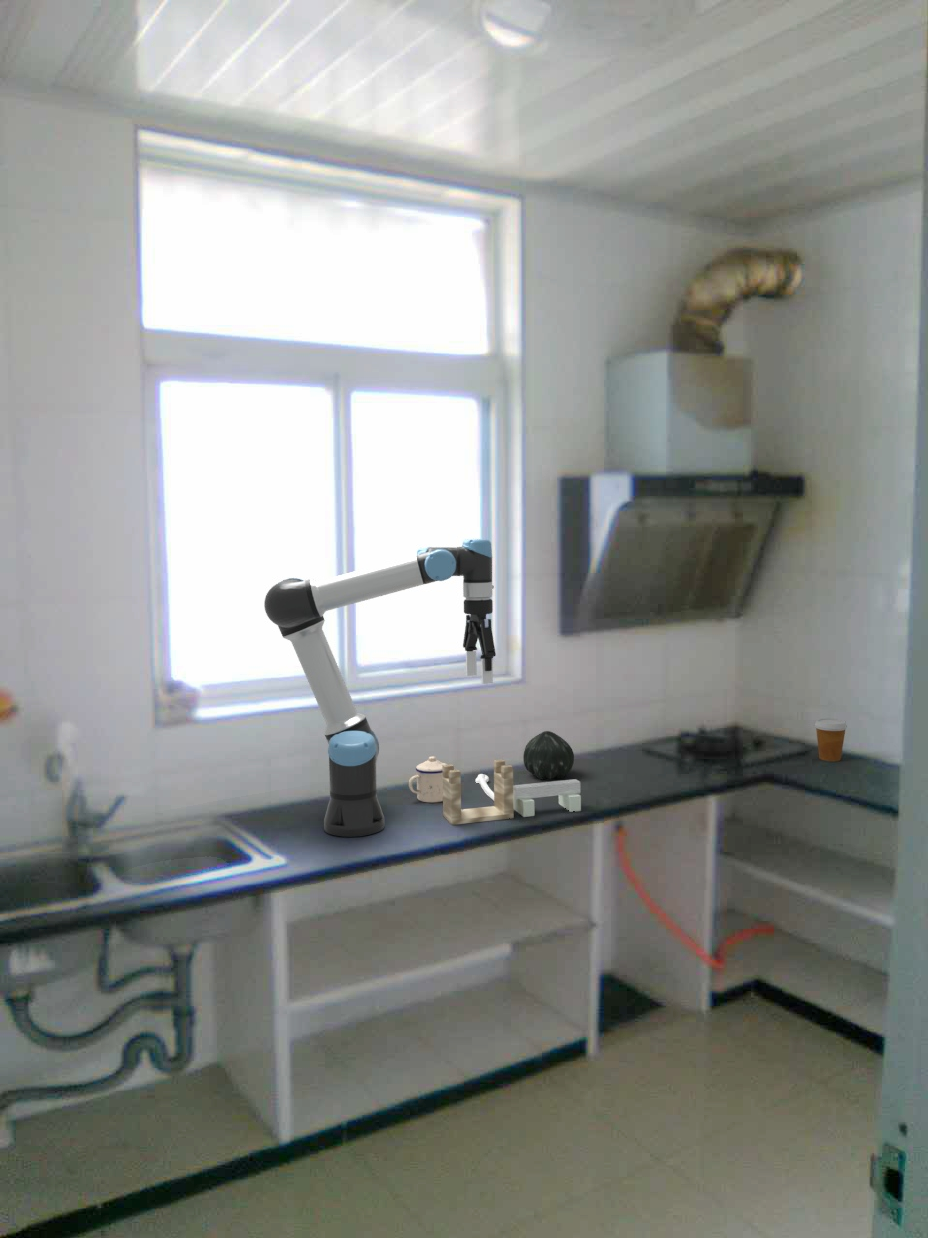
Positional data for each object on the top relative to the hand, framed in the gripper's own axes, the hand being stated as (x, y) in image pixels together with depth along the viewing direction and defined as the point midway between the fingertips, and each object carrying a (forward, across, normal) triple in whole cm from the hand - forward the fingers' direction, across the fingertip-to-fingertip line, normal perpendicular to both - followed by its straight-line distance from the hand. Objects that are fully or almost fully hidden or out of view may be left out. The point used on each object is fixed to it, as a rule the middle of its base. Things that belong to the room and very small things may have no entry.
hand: (479, 679), depth 260 cm
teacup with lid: (+35, +13, +11) cm, 39 cm away
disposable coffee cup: (+35, +13, -119) cm, 125 cm away
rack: (+35, -7, +3) cm, 36 cm away
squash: (+35, +24, -29) cm, 51 cm away
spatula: (+35, +12, -8) cm, 38 cm away
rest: (+35, -7, -16) cm, 39 cm away
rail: (+31, -7, -16) cm, 35 cm away
